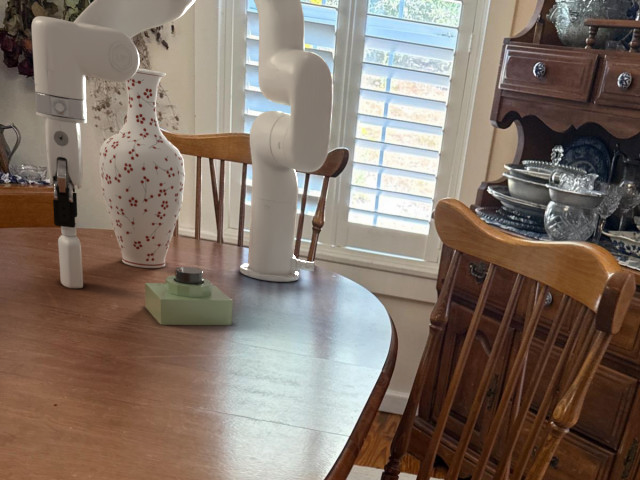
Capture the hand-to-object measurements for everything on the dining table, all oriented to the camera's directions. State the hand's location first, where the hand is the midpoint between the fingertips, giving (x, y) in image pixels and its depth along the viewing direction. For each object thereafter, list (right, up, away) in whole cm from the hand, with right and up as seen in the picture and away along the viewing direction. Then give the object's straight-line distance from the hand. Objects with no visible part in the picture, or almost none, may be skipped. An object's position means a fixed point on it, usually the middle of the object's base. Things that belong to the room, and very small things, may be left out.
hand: (66, 221), depth 132 cm
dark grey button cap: (+22, -12, -3) cm, 25 cm away
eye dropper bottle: (-1, -9, +6) cm, 11 cm away
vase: (+4, +2, +28) cm, 28 cm away
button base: (+21, -16, 0) cm, 27 cm away
